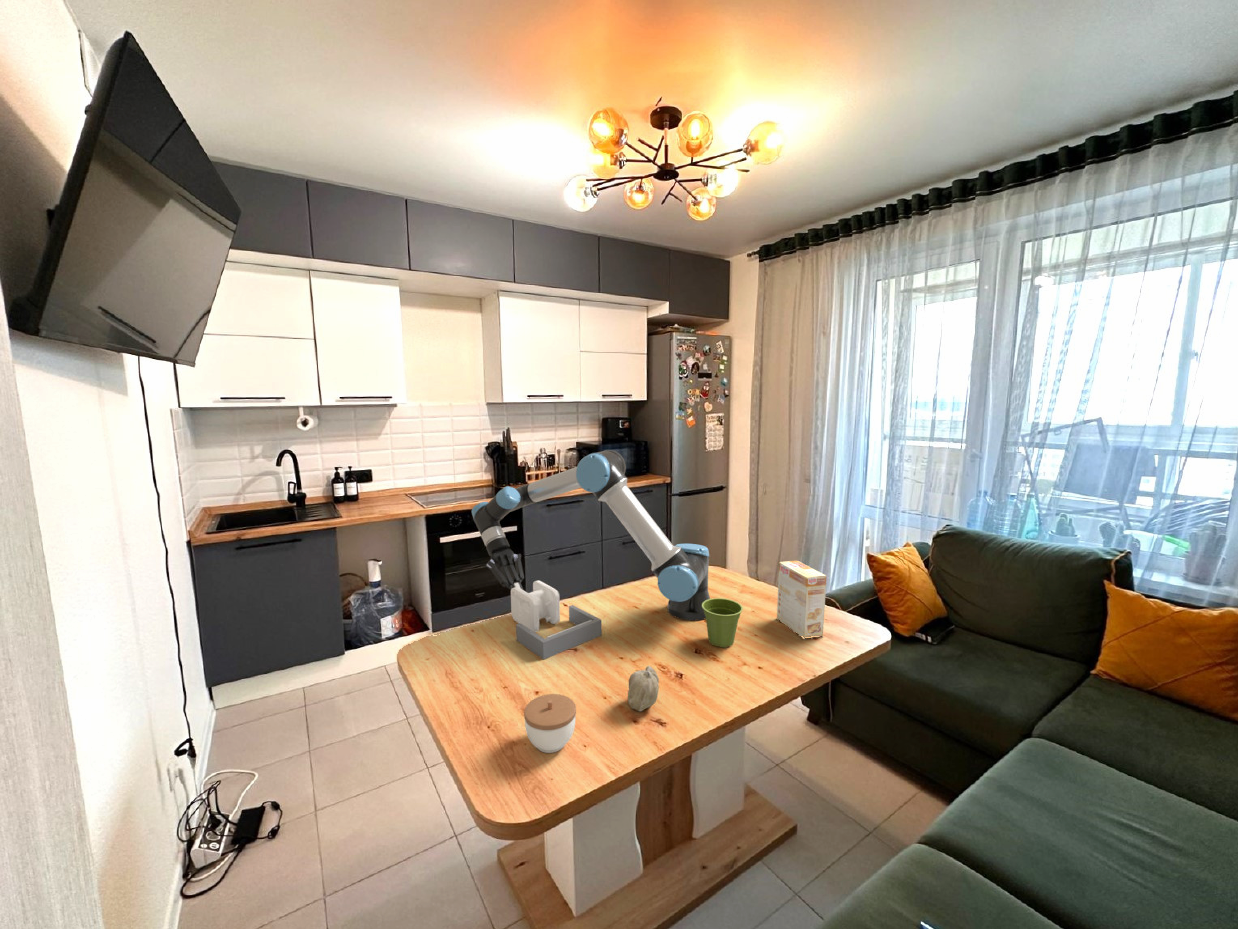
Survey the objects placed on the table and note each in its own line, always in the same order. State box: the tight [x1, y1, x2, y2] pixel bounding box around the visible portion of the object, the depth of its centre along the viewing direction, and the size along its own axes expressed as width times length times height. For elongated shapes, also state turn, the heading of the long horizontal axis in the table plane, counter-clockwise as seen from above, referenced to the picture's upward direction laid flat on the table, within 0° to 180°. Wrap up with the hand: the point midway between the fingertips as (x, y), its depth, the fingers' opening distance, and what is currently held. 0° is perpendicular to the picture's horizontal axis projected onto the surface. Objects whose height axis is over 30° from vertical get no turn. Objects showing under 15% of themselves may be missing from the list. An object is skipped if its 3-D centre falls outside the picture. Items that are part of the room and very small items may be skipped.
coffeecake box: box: [776, 560, 827, 638], centre depth 154 cm, size 15×7×20 cm, turn 14°
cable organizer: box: [510, 579, 561, 633], centre depth 158 cm, size 15×11×12 cm
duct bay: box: [515, 604, 603, 660], centre depth 149 cm, size 14×21×5 cm
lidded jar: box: [523, 693, 577, 754], centre depth 103 cm, size 11×11×9 cm
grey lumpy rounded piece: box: [627, 665, 660, 712], centre depth 116 cm, size 9×8×10 cm
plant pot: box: [702, 597, 744, 648], centre depth 146 cm, size 12×12×11 cm
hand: (522, 602), depth 163 cm, fingers closed
